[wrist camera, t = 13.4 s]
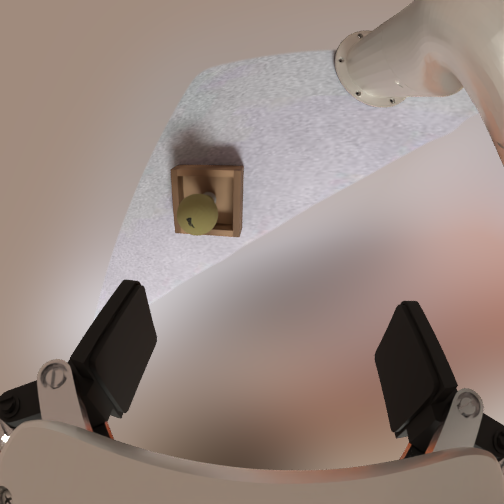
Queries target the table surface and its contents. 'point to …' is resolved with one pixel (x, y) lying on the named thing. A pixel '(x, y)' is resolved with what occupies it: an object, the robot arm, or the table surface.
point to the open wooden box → (221, 185)
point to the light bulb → (198, 213)
